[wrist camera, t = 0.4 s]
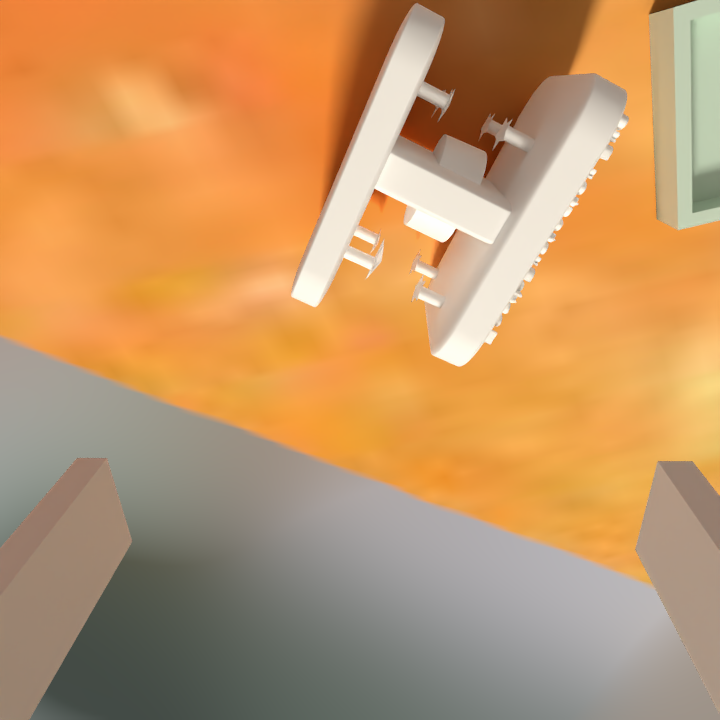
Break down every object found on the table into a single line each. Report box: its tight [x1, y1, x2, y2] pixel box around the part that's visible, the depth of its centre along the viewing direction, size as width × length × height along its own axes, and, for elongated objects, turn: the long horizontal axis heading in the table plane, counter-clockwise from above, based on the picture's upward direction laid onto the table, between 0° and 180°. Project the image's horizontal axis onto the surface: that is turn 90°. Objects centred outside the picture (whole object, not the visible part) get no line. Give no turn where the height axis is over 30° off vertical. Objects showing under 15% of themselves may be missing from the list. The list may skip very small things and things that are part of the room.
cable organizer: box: [291, 3, 629, 366], centre depth 30 cm, size 15×11×12 cm
